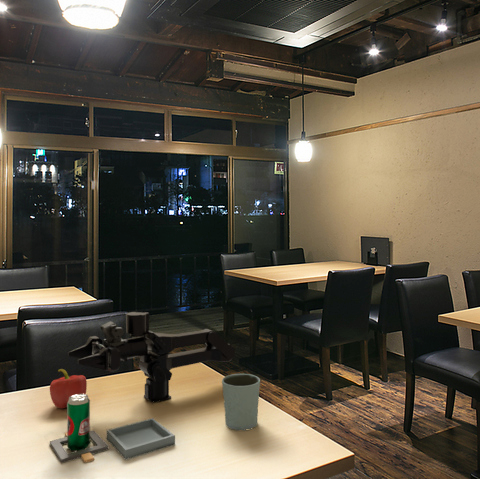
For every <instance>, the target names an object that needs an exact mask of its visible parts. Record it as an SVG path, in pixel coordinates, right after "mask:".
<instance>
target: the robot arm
mask: <svg viewBox="0 0 480 479" xmlns="http://www.w3.org/2000/svg"><path fill="white" fill-rule="evenodd" d="M125 316H126V318H125V319H126V320H125V323H126V326H125V327H126V334H129V336H130V337H131V338H125V339H124V338H122V336H123V335H124V334H125V329H124V328H123V327H121V326H120V327H118V325H117V324H116V323H115V322H114V321H111V320H110V321H108V322H106V323H104V324H102V325H100V326H99V327H100V330H101V331H102V333H103V336H104V337H105V338H104V339H103V340H102V339H101V338H100V337H98V336H96V335H93V336H89V337H88V339H87V341H86V342H85V344H84V345H81V346H79V347H78V348H74V349H73V350H71V351H68V352H67V355H68V357H70V358H71V357H72V358H76V359H77V364H78V365H82V366H85V367H91V368H95V369H99V370H101V371H102V370H103V371H105V372H107V371H109V373H112V372H113V373H114V372H118V370H120V368H121V361H123V362H127V361H128V360H129V359H134V358H138V357H139V361H138V368H139V369H140V371H141V372H143V374H144V376H145V377H146V379H145V383H144V395H143V398H145V399H146V400H147V401H149V402H151V403H152V404H153V403H158V402H162V401H167V400H170V399H172V396H171V395H170V381H171V379H172V376H173V372H171V370H172V369H176V368H181V367H186V366H190V365H195V364H196V365H197V364H200V363H204V362H210V361H211V362H220V363H223V362H224V363H226V362H231V361H232V360H233V358H234V357H235V353H236V350H235V347H234V345H233V344H230V343H228V342H227V341H225V340H224V339H223V338H222V337H220V336H219V335H218V334H217V333H216V332H215V331H213V330H211V329H208V328H204V329H201V330H194V331H187V332H182V333H174V334H170V333H163V332H154V331H152V330H150V316H151V315H150V313H149V312H145V311H144V312H142V311H141V312H138V311H131V312H128V313H127V312H126V314H125ZM200 344H205V345H206V346H205V347H201V348H197V349H196V348H195V349H191V350H186V351H185V350H184V351H180V352H176V353H175V352H174V351H175V350H176V349H178V348H183V347H184V348H185V347H189V346H197V345H200ZM171 352H174V353H171Z"/></svg>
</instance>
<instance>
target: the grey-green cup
mask: <svg viewBox="0 0 480 479" xmlns="http://www.w3.org/2000/svg"><path fill="white" fill-rule="evenodd" d="M221 385H222V392H223V393H222V396H223V405H224V406H223V408H224V416H225V417H224V419H225V420H224V421H225V426H226V425H227V426H228V427H229V428H228V427H227V426H226V427H227V428H228V429H230V428H231V430H233V429H235V430H234V431H239V430H244V431H247V430H246V429H250V430H252V429H251V428H253V427H255V426H256V427H257V425H258V416H259V415H258V414H259V411H258V410H259V409H258V408H259V401H260V400H259V398H260V386H261V378H260V377H258V376H256V375H254V374H249V373H234V374H230V375H226V376H224V377H223V378H222V379H221ZM256 427H255V428H256ZM253 429H254V428H253Z"/></svg>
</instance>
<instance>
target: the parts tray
mask: <svg viewBox="0 0 480 479" xmlns="http://www.w3.org/2000/svg"><path fill="white" fill-rule="evenodd" d="M106 440H107V441H108V443H110V444H111V446H112V447H114V449H115V450H116V451H117V452H118V453H119V454H120V455H121V457H122V458H123V459H124V460H130V459H132V458H136V457H139V456H142V455H145V454H149V453H152V452H154V451H155V452H156V451H159V450H161V449H162V450H163V449H166V448H168V447H171V446H175V445H176V435H175V434H174V433H173V432H171V431H170V430H169V429H168V428H166V427H165V426H163V425H162V423H160V422H159V421H157V420H156V419H155V418H153V417H152V418H149V419H144V420H141V421H136V422H134V423H133V422H132V423H129V424H125V425H121V426H117V427H113V428H109V429H106Z"/></svg>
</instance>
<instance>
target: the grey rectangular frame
mask: <svg viewBox="0 0 480 479" xmlns="http://www.w3.org/2000/svg"><path fill="white" fill-rule="evenodd" d="M64 436H65V437H61V438H57V439H53V440H49V445H50V447H51V449H52V450H53V452H54V454H55V455H56V456H57V458H58V460H59V461H60V463H61V464H62V463H65V462H70V461H72V460H76V459H82V460H83V462H84V464H86V463H89V462H93V461H95V457H94V454H98V453H101V452H104V451H107V450H109V445H108V444H107V443H106V442H105V440H103V438H102V437H101V436H100V435H99V434H98V433H97V432H96V431H95V429H91V430H90V442H92V443H93V444H94V446H91V447H87V448H86V449H83V450H79V451H72V452H69V453H68V452H67V451H66V449H65V447H63V445H66V444H67V432H64Z"/></svg>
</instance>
